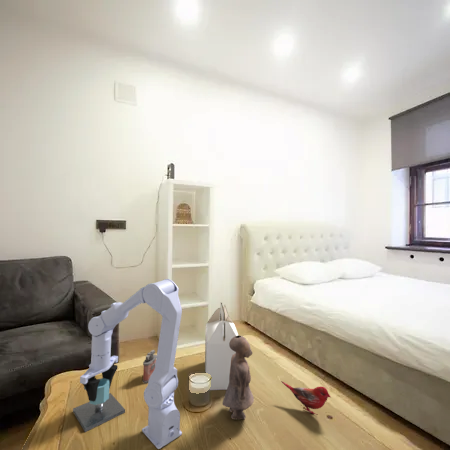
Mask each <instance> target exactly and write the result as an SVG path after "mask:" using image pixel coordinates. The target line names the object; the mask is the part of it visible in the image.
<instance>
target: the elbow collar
mask: <svg viewBox="0 0 450 450" xmlns="http://www.w3.org/2000/svg"><path fill="white" fill-rule="evenodd" d="M97 379H98V380H100V382H99V385H98V388H97V396H96V400H95V401H94V402H93V401H89V402H90V404H94V405H97V404H101V403H104V402H105V401H106V400H108V399H109V393H110V389H109V384H110V383H109V379H106V378H103V377H101V378H97ZM83 389H84V391H86V389H85V387H84V386H83Z"/></svg>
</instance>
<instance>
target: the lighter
mask: <svg viewBox="0 0 450 450" xmlns="http://www.w3.org/2000/svg"><path fill="white" fill-rule="evenodd" d="M155 353H156V350H155V349H152V350H150V352H147V354H146V356H145V359H144V360H143V362H142V363H143V364H142V365H143V370H142V371H143V372H142V373H143V375H142V376H143V377H142V383H143V384H148V382H149V379H150V377H151V375H152V373H153V371H154V369H155V364H156V357H157V354H155Z"/></svg>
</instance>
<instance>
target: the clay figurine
mask: <svg viewBox="0 0 450 450" xmlns="http://www.w3.org/2000/svg"><path fill="white" fill-rule="evenodd" d="M229 346H230V348H231V349H232V350H233V351H235V352H236V353H235V354H233V355H232V358H231V366H230V375H229V384H228V388H227V390H225V394H224V397H223V400H222V405H223V406H224V407H225V408H229V409H228V411H229V412H230V413H231V416H230V417H231V419H232V420H234V421H235V420H245V419H246V418H247V417H246V414H245V412H244V411H245V410H247V409H249V408H250V407H251V406H252V405H253V403H254V402H255V399H254V398H255V397H254V394H253V392H252V390H251V388H250V385H249V384H250V383H251V380H252V377H251V376H252V375H251V372H250V366H249V363H248V361H247V359H248V358H250V356H253V351H252V348H251V344H250V343H249V341H248V340H247V339H246V338H245V337H244V336H243V335H239V334H238V336H235V337H233V338H232V339H231V340H230V343H229ZM246 358H247V359H246Z"/></svg>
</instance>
